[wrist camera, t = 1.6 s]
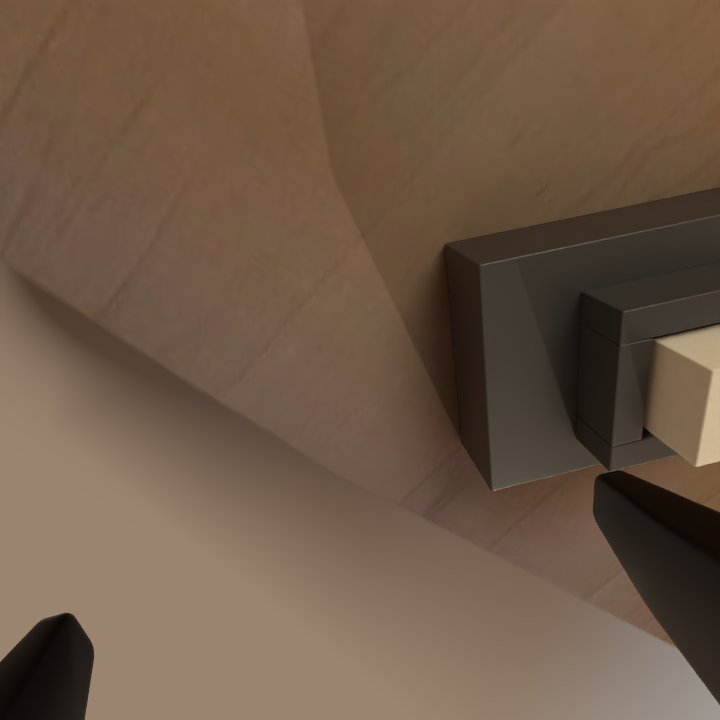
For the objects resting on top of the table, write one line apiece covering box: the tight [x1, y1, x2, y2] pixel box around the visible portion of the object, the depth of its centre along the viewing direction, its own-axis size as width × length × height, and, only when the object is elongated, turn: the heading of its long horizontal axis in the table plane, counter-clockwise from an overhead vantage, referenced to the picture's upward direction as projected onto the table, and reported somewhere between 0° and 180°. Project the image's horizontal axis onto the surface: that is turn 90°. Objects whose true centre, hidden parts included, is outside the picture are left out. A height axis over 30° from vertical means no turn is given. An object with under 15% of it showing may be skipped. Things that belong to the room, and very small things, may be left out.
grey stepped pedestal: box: [445, 188, 720, 491], centre depth 20 cm, size 14×10×6 cm
